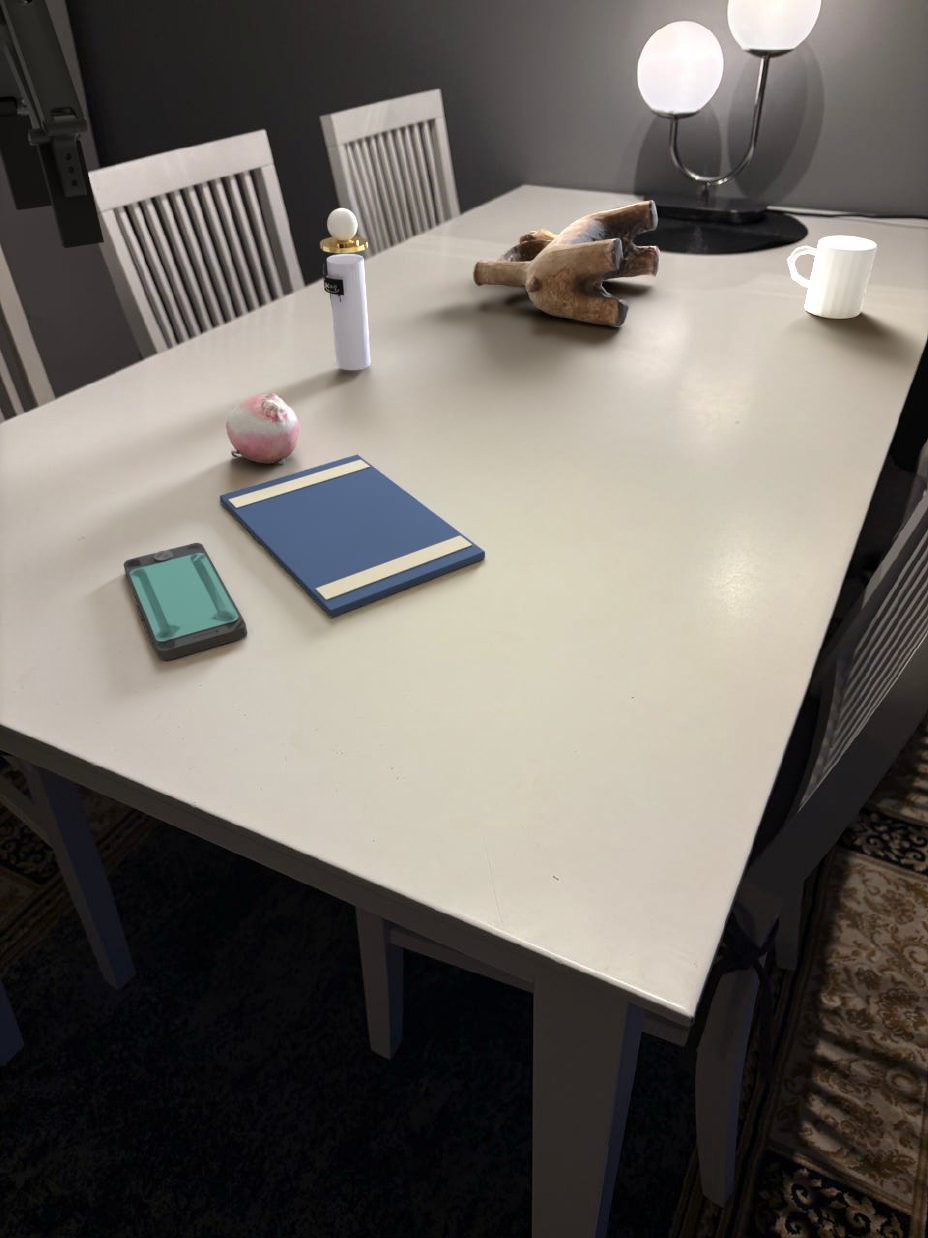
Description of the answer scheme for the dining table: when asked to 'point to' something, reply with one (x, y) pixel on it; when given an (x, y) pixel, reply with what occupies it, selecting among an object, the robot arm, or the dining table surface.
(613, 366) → the dining table surface
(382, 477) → the towel
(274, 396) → the onion
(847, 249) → the mug
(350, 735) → the dining table surface
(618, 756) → the dining table surface
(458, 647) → the dining table surface
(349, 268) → the perfume bottle
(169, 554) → the smartphone
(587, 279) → the ceramic vessel
